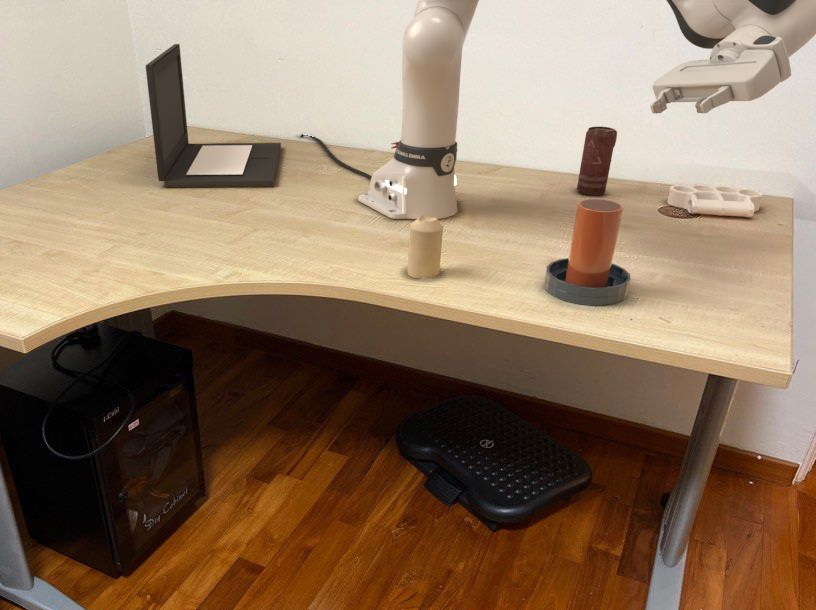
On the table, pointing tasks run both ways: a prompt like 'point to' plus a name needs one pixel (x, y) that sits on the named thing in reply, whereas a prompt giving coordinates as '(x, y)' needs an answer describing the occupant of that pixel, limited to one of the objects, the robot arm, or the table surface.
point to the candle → (425, 247)
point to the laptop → (198, 161)
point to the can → (596, 160)
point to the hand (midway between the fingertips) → (676, 109)
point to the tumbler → (593, 242)
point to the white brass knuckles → (715, 199)
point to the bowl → (586, 295)
